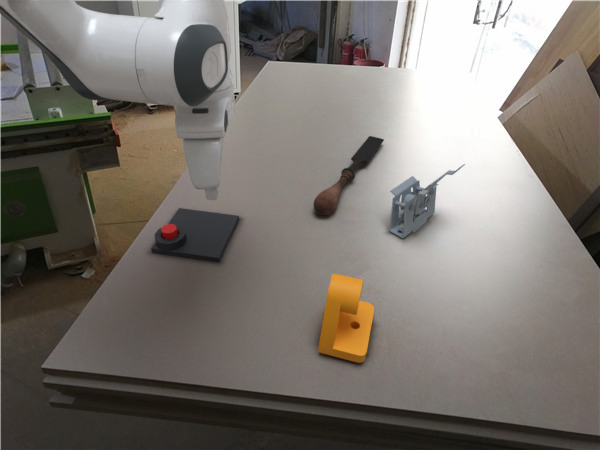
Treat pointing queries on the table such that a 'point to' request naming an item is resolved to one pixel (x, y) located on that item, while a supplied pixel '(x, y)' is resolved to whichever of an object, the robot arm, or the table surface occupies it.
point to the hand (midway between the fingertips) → (214, 181)
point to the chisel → (346, 176)
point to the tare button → (169, 231)
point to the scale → (197, 235)
